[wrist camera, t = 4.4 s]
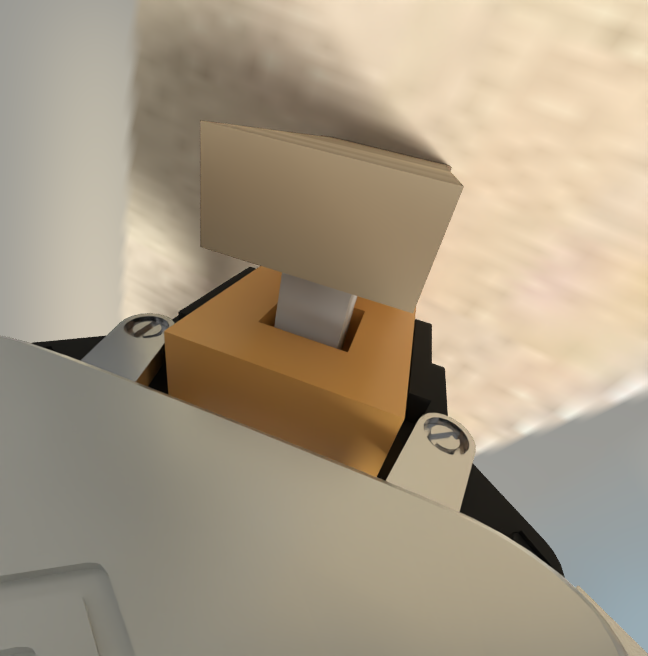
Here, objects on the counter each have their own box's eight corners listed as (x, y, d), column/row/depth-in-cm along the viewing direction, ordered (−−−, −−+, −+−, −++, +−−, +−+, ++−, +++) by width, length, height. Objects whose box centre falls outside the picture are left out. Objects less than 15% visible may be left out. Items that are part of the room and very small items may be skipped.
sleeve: (268, 260, 11) (163, 330, 7) (416, 306, 10) (404, 418, 6) (257, 355, 13) (173, 454, 9) (379, 398, 12) (350, 530, 8)
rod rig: (332, 137, 12) (188, 117, 5) (449, 165, 11) (477, 190, 4) (280, 414, 20) (196, 561, 13) (348, 439, 19) (299, 610, 12)
